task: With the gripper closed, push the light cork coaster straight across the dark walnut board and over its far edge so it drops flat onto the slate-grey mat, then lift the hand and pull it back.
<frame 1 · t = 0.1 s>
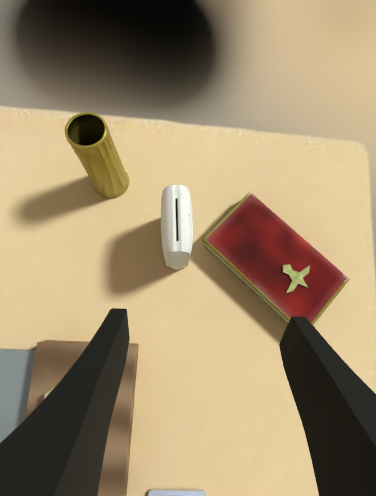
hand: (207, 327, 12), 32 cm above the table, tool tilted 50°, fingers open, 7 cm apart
photo printer: (176, 240, 46), on the table
hardcover book: (267, 262, 46), on the table
vase: (112, 182, 48), on the table
grey mat: (1, 403, 39), on the table
walnut board: (84, 414, 39), on the table
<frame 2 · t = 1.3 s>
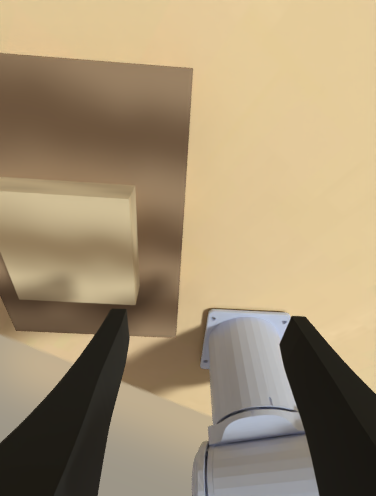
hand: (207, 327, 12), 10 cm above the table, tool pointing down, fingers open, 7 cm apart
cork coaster: (78, 238, 18), point 3 cm above the table, touching walnut board
walnut board: (91, 217, 21), on the table
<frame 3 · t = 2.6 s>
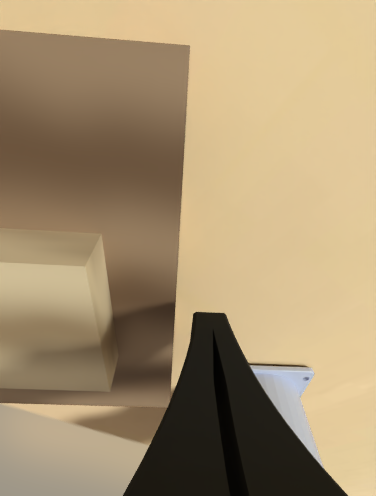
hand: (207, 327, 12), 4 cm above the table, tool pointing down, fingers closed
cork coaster: (24, 301, 12), point 3 cm above the table, touching walnut board
walnut board: (51, 261, 15), on the table
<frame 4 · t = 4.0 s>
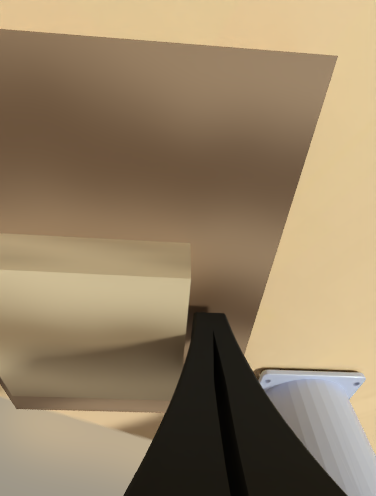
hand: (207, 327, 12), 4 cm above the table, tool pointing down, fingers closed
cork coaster: (97, 310, 12), point 3 cm above the table, touching gripper, walnut board
walnut board: (119, 269, 15), on the table
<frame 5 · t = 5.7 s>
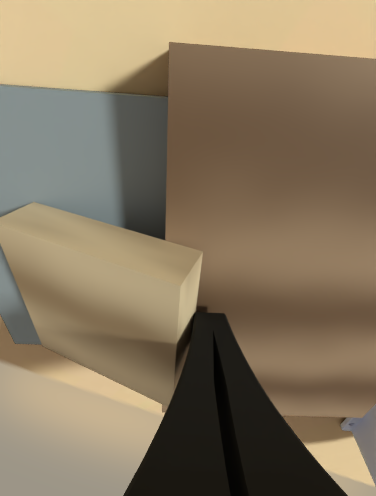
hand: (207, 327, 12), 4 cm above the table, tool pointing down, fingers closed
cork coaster: (118, 295, 13), point 2 cm above the table, tilted 23°, touching grey mat, gripper
grey mat: (73, 252, 14), on the table
walnut board: (291, 277, 15), on the table
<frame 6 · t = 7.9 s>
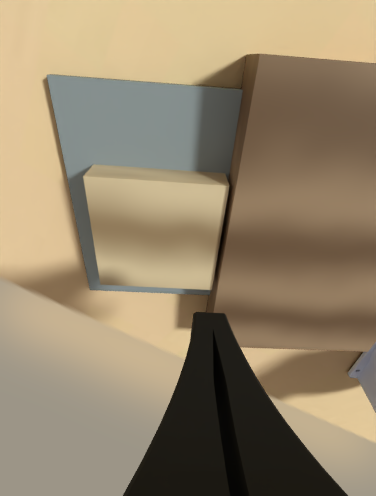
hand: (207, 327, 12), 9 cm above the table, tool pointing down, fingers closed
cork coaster: (159, 225, 19), resting on grey mat
grey mat: (149, 209, 18), on the table
walnut board: (314, 231, 20), on the table
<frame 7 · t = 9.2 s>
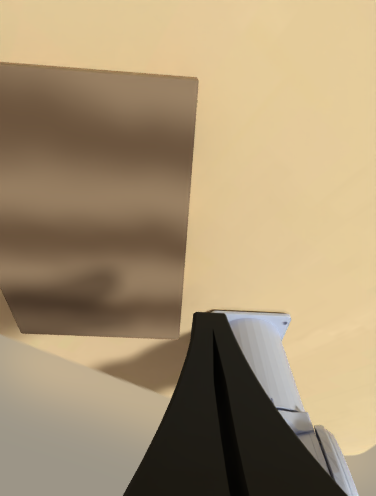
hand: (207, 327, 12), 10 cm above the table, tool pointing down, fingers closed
walnut board: (95, 222, 21), on the table
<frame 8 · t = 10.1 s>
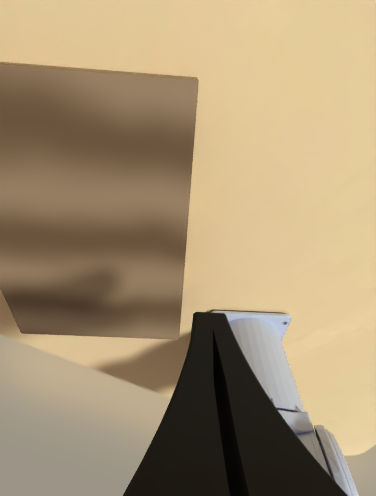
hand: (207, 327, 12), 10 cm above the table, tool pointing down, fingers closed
walnut board: (95, 222, 21), on the table
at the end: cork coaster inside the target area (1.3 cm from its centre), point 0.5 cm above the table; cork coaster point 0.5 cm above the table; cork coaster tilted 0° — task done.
